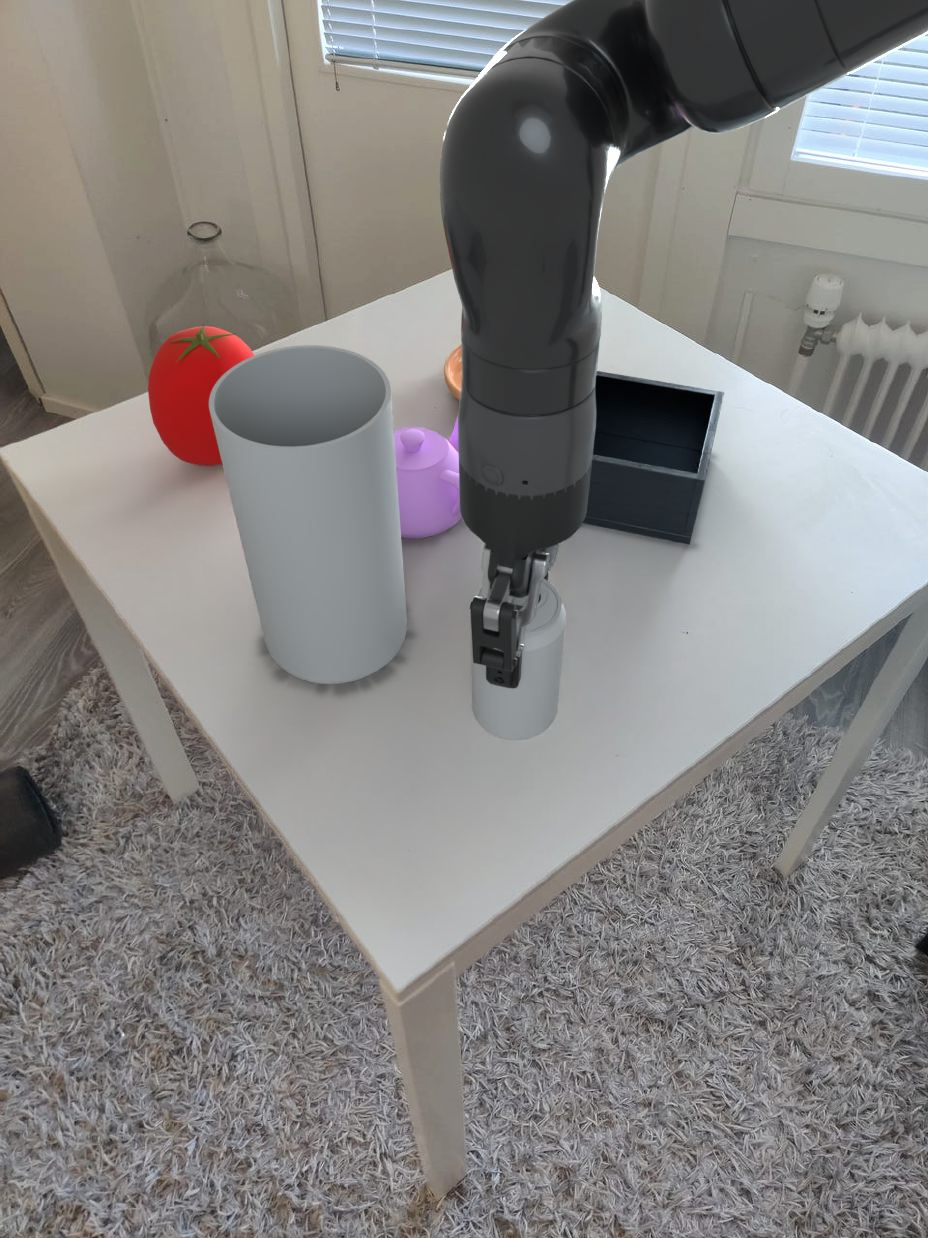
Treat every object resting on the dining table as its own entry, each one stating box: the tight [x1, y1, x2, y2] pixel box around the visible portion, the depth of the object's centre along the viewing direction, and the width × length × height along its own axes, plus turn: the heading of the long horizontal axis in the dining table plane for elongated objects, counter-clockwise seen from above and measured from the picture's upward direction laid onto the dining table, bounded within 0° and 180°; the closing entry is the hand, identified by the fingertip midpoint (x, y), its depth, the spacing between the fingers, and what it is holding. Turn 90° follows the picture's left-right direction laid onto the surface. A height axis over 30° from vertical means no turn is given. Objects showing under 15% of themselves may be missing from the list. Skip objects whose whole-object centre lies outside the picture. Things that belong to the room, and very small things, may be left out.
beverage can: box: [470, 579, 567, 741], centre depth 66 cm, size 6×6×12 cm
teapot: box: [394, 415, 463, 539], centre depth 92 cm, size 12×14×9 cm
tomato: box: [147, 324, 256, 467], centre depth 97 cm, size 13×11×14 cm
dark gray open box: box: [582, 370, 725, 545], centre depth 95 cm, size 15×15×8 cm
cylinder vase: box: [209, 344, 408, 685], centre depth 75 cm, size 12×12×25 cm
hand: (517, 643), depth 65 cm, fingers closed on beverage can, 6 cm apart
